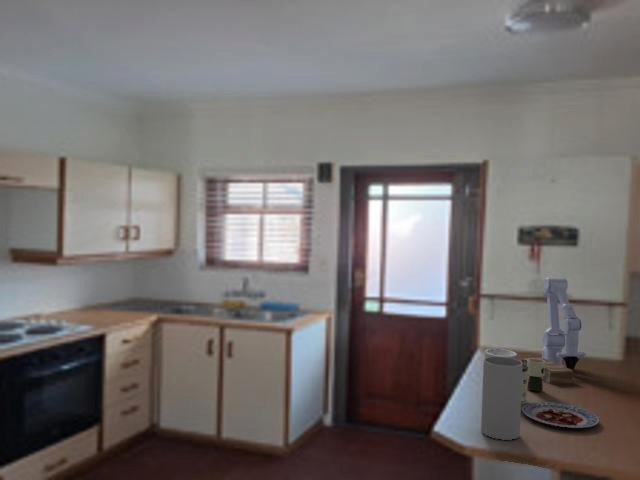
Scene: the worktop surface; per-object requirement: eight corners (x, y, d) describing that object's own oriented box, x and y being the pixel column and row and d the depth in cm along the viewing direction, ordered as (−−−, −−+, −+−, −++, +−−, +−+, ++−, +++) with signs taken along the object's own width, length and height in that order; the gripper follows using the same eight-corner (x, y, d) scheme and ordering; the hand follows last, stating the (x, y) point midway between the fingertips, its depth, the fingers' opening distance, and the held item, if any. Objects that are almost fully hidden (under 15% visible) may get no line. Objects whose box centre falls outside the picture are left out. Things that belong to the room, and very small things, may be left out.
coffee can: (501, 394, 234) (502, 361, 233) (527, 398, 230) (529, 364, 229) (498, 402, 225) (499, 367, 224) (525, 406, 220) (526, 370, 220)
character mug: (543, 395, 235) (544, 364, 234) (525, 392, 237) (526, 362, 237) (544, 388, 245) (545, 358, 244) (526, 385, 247) (528, 356, 247)
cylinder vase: (483, 424, 199) (485, 354, 198) (520, 430, 194) (523, 359, 193) (478, 437, 188) (481, 363, 187) (518, 444, 183) (521, 368, 182)
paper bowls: (512, 374, 266) (513, 357, 265) (480, 368, 274) (480, 352, 273) (519, 367, 279) (520, 351, 278) (488, 362, 287) (489, 346, 286)
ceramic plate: (594, 439, 189) (594, 430, 189) (515, 422, 203) (515, 414, 203) (602, 416, 211) (602, 408, 211) (530, 403, 225) (530, 395, 225)
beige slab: (521, 370, 272) (522, 358, 272) (541, 369, 275) (542, 357, 275) (551, 384, 251) (551, 371, 250) (572, 382, 253) (573, 370, 253)
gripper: (563, 346, 260) (562, 375, 260) (590, 345, 263) (589, 373, 264) (553, 342, 267) (552, 371, 267) (580, 341, 270) (579, 369, 271)
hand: (570, 372), depth 266 cm, fingers closed
